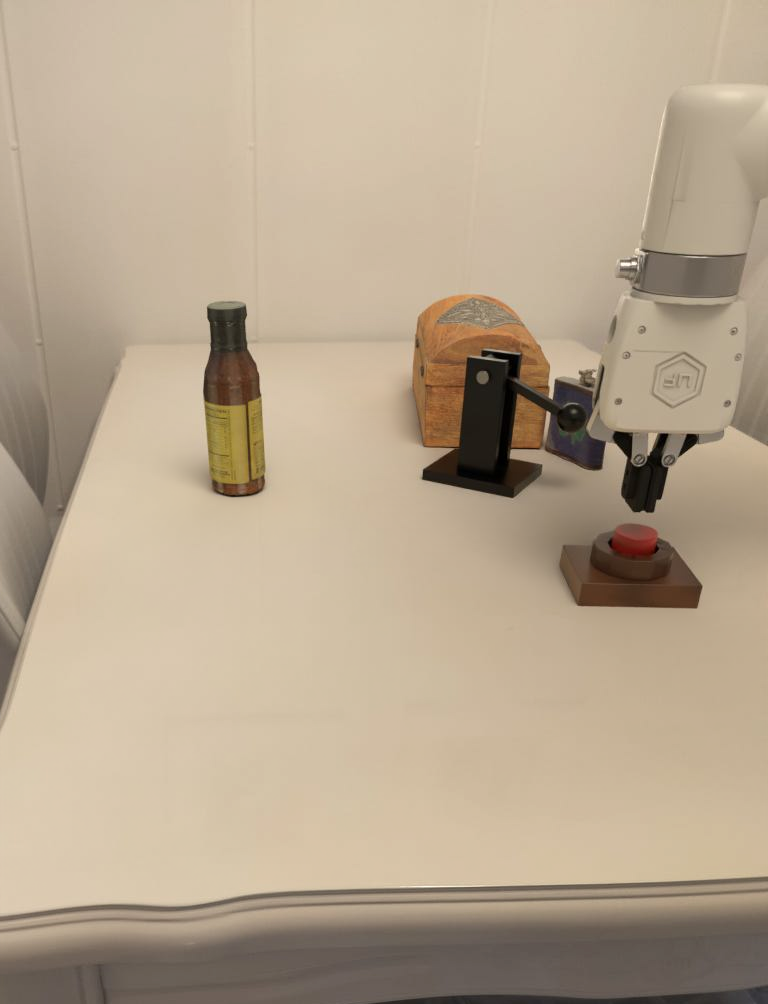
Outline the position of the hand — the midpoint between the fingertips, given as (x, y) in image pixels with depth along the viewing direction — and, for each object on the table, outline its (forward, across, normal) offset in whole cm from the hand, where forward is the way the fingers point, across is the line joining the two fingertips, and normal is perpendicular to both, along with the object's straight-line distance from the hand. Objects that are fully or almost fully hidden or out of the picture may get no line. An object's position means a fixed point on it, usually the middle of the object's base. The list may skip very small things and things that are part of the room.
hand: (638, 506), depth 78 cm
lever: (-1, -5, +26) cm, 26 cm away
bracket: (+8, -9, +28) cm, 30 cm away
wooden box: (+8, -7, +53) cm, 54 cm away
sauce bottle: (+8, -37, +23) cm, 44 cm away
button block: (+8, 0, 0) cm, 8 cm away
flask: (+8, +3, +35) cm, 36 cm away
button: (+4, 0, 0) cm, 4 cm away
